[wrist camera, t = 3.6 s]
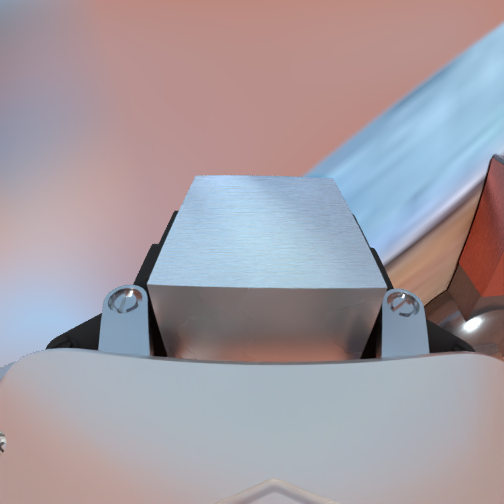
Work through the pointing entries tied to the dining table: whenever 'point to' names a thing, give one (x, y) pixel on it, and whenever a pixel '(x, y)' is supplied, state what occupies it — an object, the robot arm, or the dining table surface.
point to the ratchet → (479, 276)
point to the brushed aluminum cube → (265, 273)
